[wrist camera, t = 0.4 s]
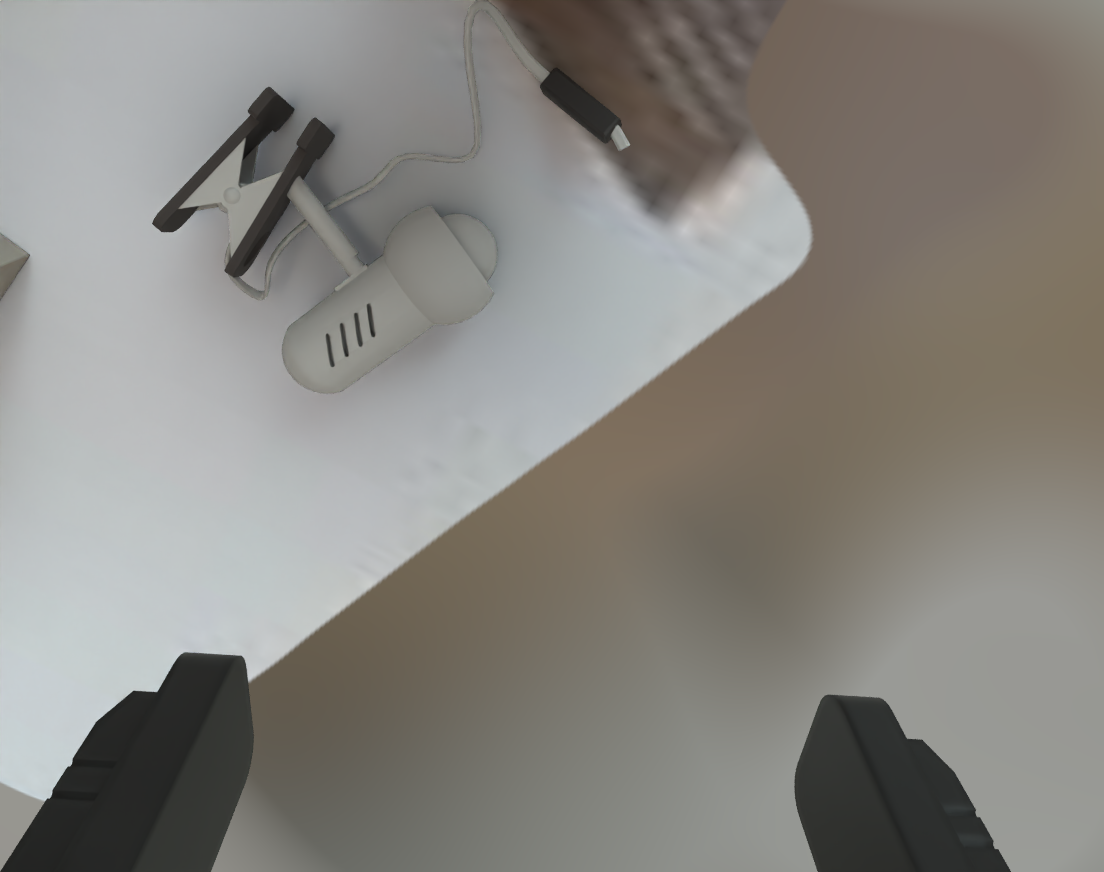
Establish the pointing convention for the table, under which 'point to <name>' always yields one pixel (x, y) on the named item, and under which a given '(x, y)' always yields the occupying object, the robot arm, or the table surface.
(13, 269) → the surgical sutures box
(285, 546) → the table surface
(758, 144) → the table surface
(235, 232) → the clip-on lamp
